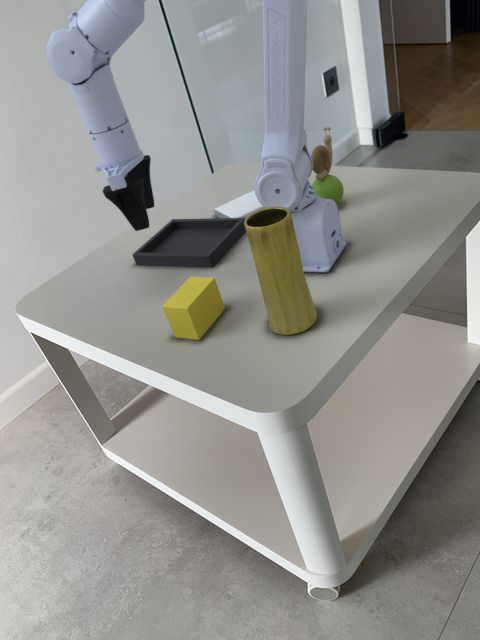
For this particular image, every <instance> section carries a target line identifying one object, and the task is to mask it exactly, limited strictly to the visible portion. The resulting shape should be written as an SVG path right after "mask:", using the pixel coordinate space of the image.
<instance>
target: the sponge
mask: <svg viewBox="0 0 480 640" xmlns="http://www.w3.org/2000/svg"><path fill="white" fill-rule="evenodd" d="M161 308H162V311H163V313H164V315H165V317H166V319H167V323H168V324H169V327H170V329H171V331H172V334H173V336H174V338H177V339H188V340H196V341H200V340H201V339H202V338H203V337H204V335H205V334H206V333H207V332H208V330H209V329H210V328H211V327H212V325H213V324H214V323H215V322H216V321H217V319H219V317H220V316H221V314H222V313H223V312H224V311H225V309H226V308H225V304H224V300H223V298H222V295H221V292H220V290H219V286H218V284H217V280H216V277H204V276H189V277H188V278H187V279H186V280H185V282H184V283H183V284H182V285H181V286H180V287H179V288H178V289H177V290H176V291H175V292H174V293H173V294H172V295H171V296H170V298H169V299H168V300H167V301H165V303H164V304H163V305H161Z"/></svg>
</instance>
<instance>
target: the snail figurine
mask: <svg viewBox="0 0 480 640" xmlns="http://www.w3.org/2000/svg"><path fill="white" fill-rule="evenodd" d="M331 130H332V129H331V127H330V126H328V127H326V126H324V127H323V131H324V132H327V131H328V133H329V134H327V133H325V135H324V137H323V143H324V145H321V144H319V145H317V146H315V147H314V148H313V149H312V152H311V154H310V155H311V157H312V161H313V169H312V172H313V173H315V174H316V175H314V177H315V179H314V181H313V183H312V184H311V185H312V187H313V188H314V190H315V192H316V195H317V196H319V197H322V198H325V199H332V200H334V201H335V203H336V204H337V205H339V203H341V201H342V200H343V197H344V192H345V191H344V185H343V182H342V181H341V180H340V179H339V178H338V177H337V176H336V175H334V174H330V172H331V169H332V167H333V146H332V139H333V137H332V136H331Z"/></svg>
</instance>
